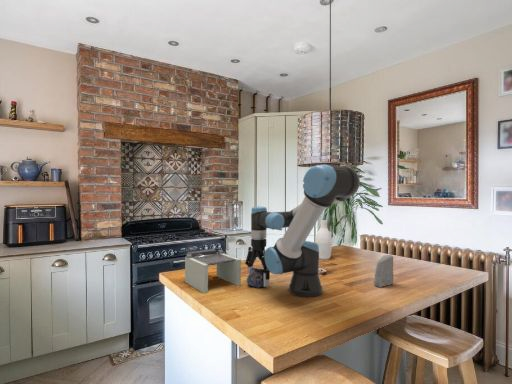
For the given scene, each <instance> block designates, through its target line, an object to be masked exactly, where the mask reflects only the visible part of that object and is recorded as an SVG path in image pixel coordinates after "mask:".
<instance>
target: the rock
mask: <svg viewBox="0 0 512 384" xmlns="http://www.w3.org/2000/svg"><path fill="white" fill-rule="evenodd" d="M264 272H265V271H264V268H255V267H254V268H252V269H250V273H249V275H248V274H247V277H246V284H247V285H248V286H250V287H254V288H258V289H259V288H261V287H264Z"/></svg>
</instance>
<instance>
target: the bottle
mask: <svg viewBox="0 0 512 384" xmlns="http://www.w3.org/2000/svg"><path fill="white" fill-rule="evenodd" d="M319 221H320V226H319V229H318V230H317V233H316V236H315V240H314V243H317V244H318V246H319V260H329V259H330V258H331V255H332V248H333V247H332V245H333V242H332V239H333V238H332V236H331V233H330V231H329V228H328V220H325V219H322V220H319Z"/></svg>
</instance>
